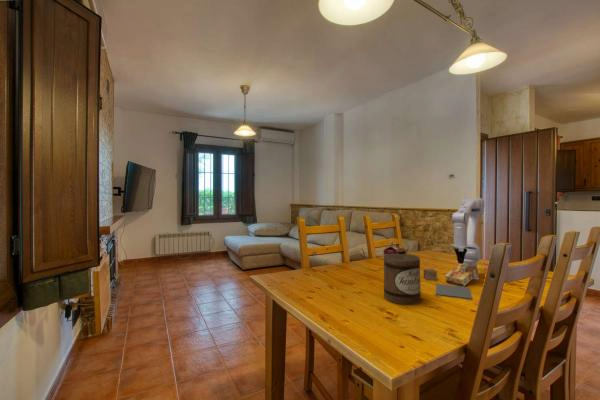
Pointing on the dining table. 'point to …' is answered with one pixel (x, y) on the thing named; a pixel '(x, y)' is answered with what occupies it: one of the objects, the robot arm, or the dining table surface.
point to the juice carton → (391, 249)
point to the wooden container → (402, 278)
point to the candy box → (461, 274)
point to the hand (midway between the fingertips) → (460, 263)
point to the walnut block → (430, 274)
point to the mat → (453, 291)
